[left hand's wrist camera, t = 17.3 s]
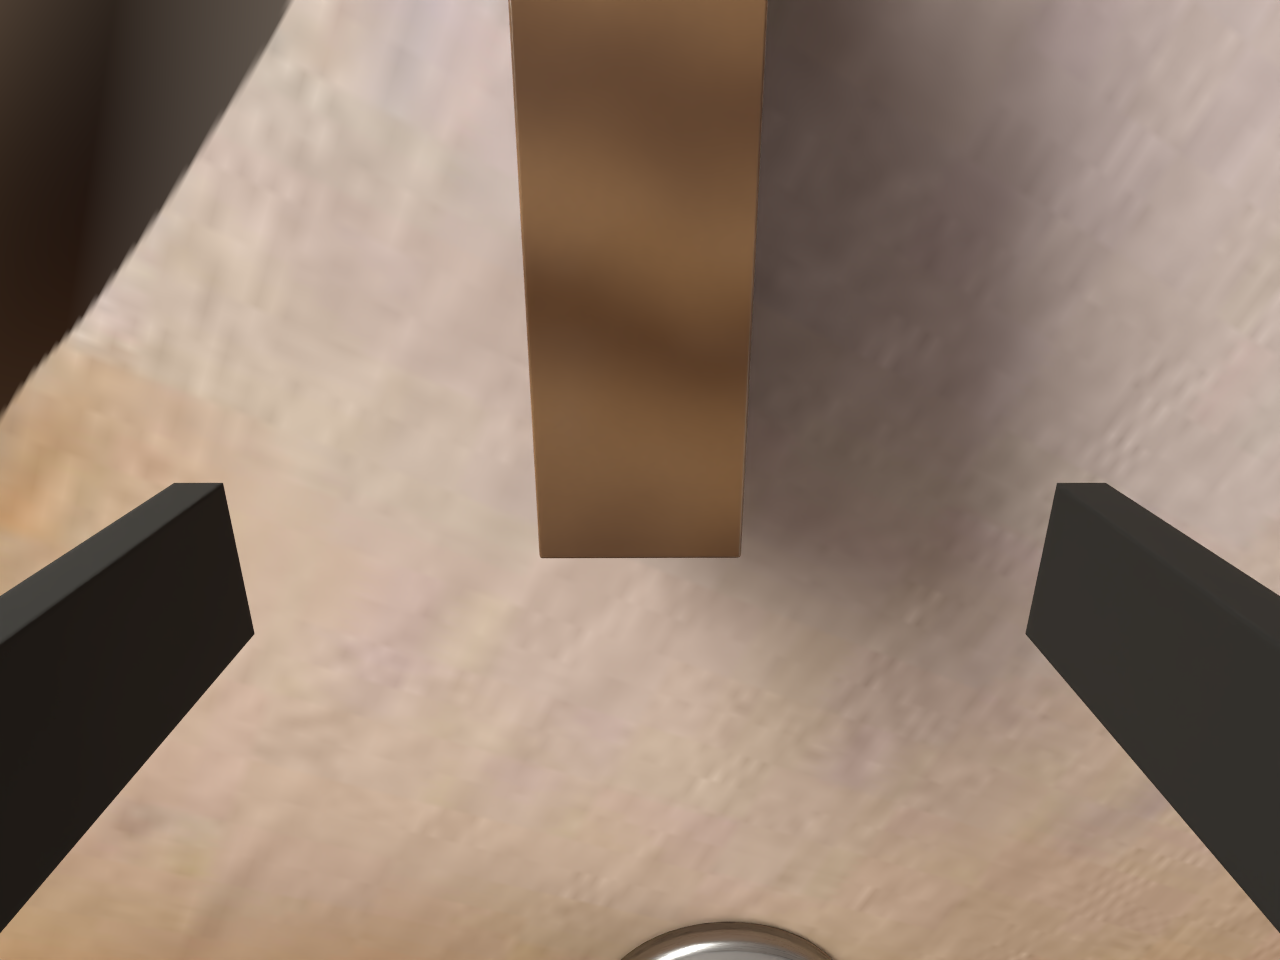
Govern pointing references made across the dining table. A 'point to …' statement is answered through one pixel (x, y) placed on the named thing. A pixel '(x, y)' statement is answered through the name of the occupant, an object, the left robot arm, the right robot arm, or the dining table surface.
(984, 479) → the dining table surface
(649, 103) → the box
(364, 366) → the dining table surface
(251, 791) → the dining table surface
